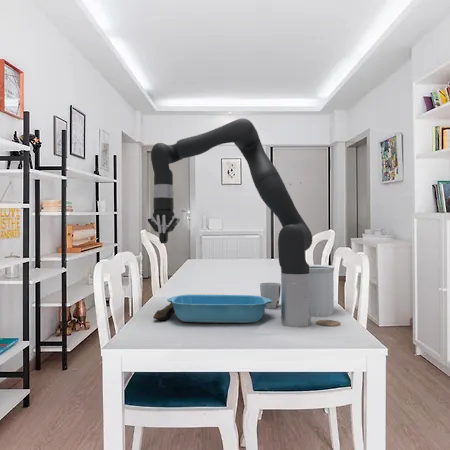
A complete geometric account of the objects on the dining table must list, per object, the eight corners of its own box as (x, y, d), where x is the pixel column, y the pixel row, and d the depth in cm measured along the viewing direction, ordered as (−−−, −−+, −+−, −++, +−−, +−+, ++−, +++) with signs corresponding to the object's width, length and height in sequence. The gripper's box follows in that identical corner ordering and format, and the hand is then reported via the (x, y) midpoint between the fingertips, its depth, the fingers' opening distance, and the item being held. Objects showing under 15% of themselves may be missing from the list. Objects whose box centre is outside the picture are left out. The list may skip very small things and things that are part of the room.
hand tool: (171, 300, 162) (182, 300, 161) (171, 310, 162) (183, 310, 161) (151, 309, 144) (164, 309, 143) (151, 321, 144) (164, 321, 143)
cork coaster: (341, 322, 141) (341, 320, 141) (339, 327, 133) (339, 325, 133) (317, 320, 144) (317, 319, 144) (313, 325, 136) (313, 324, 136)
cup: (282, 311, 160) (282, 285, 160) (260, 311, 160) (260, 285, 160) (279, 307, 168) (279, 282, 168) (259, 307, 168) (259, 282, 168)
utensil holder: (302, 318, 147) (302, 268, 147) (287, 310, 162) (287, 264, 162) (341, 316, 150) (341, 267, 150) (323, 309, 165) (323, 264, 165)
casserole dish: (268, 312, 160) (268, 293, 160) (275, 325, 138) (275, 303, 138) (171, 312, 160) (171, 293, 160) (163, 325, 138) (163, 303, 138)
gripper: (183, 197, 159) (183, 243, 159) (153, 198, 164) (153, 243, 164) (174, 195, 152) (174, 243, 152) (142, 197, 157) (142, 243, 157)
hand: (163, 243), depth 158 cm, fingers closed
